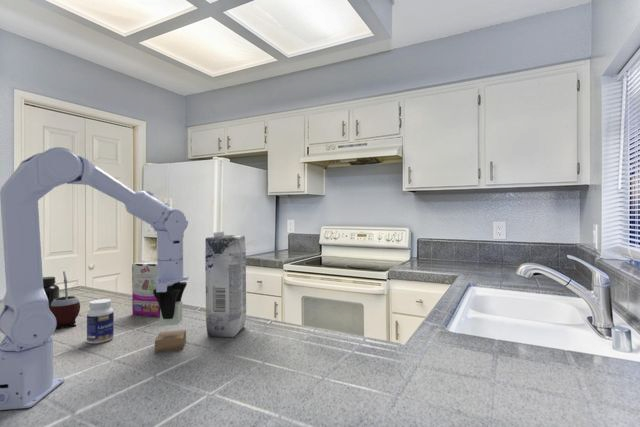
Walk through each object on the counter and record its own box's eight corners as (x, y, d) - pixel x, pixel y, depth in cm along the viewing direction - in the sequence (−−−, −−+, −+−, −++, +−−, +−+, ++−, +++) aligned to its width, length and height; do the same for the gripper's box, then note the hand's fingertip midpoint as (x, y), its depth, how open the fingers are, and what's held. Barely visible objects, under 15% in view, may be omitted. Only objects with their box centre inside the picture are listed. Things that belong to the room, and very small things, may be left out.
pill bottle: (100, 345, 83) (100, 304, 83) (81, 343, 84) (80, 303, 84) (119, 336, 89) (118, 298, 89) (100, 335, 90) (100, 297, 90)
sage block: (178, 324, 80) (177, 305, 80) (160, 325, 80) (160, 306, 80) (182, 319, 84) (182, 301, 84) (165, 320, 84) (165, 302, 84)
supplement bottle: (36, 314, 110) (36, 277, 110) (62, 311, 113) (61, 275, 113) (28, 320, 104) (28, 280, 104) (56, 317, 106) (56, 278, 107)
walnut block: (182, 350, 80) (182, 337, 80) (154, 353, 78) (154, 340, 78) (186, 341, 86) (186, 329, 86) (160, 343, 84) (160, 331, 84)
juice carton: (248, 325, 96) (248, 230, 96) (236, 339, 86) (235, 232, 86) (218, 325, 97) (217, 230, 97) (202, 338, 87) (201, 232, 87)
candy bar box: (171, 313, 110) (171, 262, 110) (160, 317, 105) (159, 264, 105) (143, 310, 113) (143, 261, 113) (131, 314, 108) (131, 263, 108)
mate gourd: (65, 330, 94) (64, 276, 94) (40, 329, 95) (40, 275, 95) (87, 322, 101) (87, 271, 101) (64, 321, 102) (64, 271, 102)
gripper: (179, 262, 75) (180, 324, 75) (194, 255, 90) (195, 306, 90) (145, 263, 74) (146, 326, 74) (166, 255, 89) (166, 308, 89)
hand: (171, 315), depth 82 cm, fingers closed on sage block, 4 cm apart
